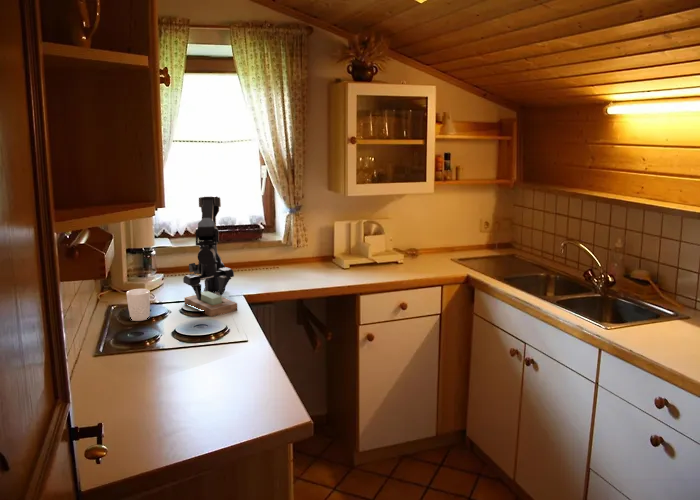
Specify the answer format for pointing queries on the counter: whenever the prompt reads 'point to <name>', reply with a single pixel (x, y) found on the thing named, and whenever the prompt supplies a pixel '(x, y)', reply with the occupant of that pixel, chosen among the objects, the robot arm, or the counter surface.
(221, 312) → the brown wooden flat block
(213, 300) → the peg
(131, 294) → the white cup
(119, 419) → the counter surface
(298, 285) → the counter surface
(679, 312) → the counter surface
